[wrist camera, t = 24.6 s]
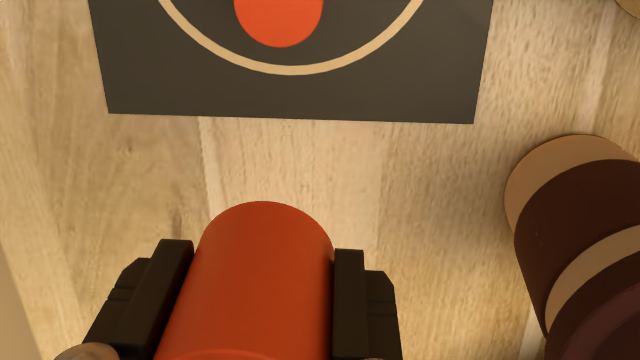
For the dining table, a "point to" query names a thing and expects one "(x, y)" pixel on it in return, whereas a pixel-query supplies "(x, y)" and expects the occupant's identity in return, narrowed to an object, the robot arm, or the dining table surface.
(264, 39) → the red orange cylinder
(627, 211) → the coffee cup
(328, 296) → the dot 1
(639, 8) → the can
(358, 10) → the slate board
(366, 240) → the dining table surface
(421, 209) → the dining table surface
